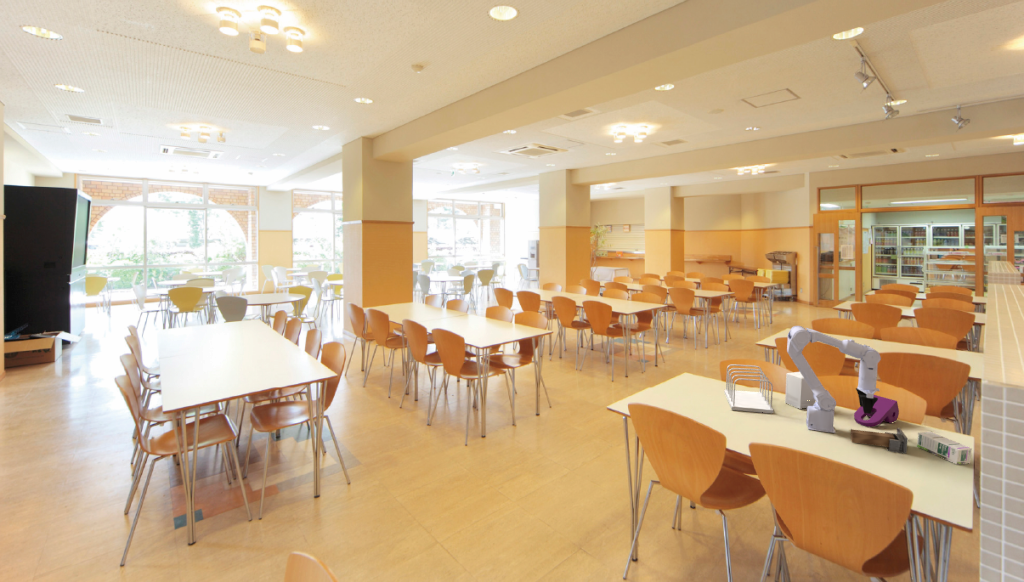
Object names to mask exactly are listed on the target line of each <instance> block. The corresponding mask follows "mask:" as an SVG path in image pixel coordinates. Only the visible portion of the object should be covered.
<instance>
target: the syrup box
mask: <svg viewBox="0 0 1024 582" xmlns="http://www.w3.org/2000/svg"><path fill="white" fill-rule="evenodd" d="M916 447H917V448H919V449H921V450H924V451H926V452H927V453H930V454H932V453H933V454H932V455H934V454H935V456H936V457H939V456H940V457H939V458H941V457H942V458H941V459H943V458H944V460H945V459H946V461H948V462H950V463H952V462H953V464H954V463H955V464H954V465H966V464H965V463H969V464H971V459H972V458H971V457H972V451H973V450H972V449H973V448H972V447H970V446H967V445H965V444H962V443H960V442H957V441H955V440H953V439H950V438H948V437H946V436H943V435H940V434H937V433H935V432H934V431H922V432H921V431H920V432H918V433H917V443H916ZM963 463H964V464H963Z"/></svg>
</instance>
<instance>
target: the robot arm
mask: <svg viewBox="0 0 1024 582" xmlns="http://www.w3.org/2000/svg"><path fill="white" fill-rule="evenodd" d="M816 342H820V343H823V344H826V345H827V346H828V345H829V346H831V347H834V348H838V351H839V352H840V353H842V354H845V355H848V356H851V357H852V358H855V359H858V360H860V361H859V370H858V371H859V372H858V385H857V387H856V388H855V391H856V392H857V396H858V401H859V407H860V406H861V407H863V411H864V413H868V414H870V413H871V411H872V408H873V406H874V404H875V403H876V401H877V400H878V398H877V397H873V396H874V395H875V393H876V392H880V390H881V389H880V388H877V379H878V369H879V368H878V366H879V365H878V364H879V363H880V361H881V359H882V357H881V354H880V352H878V351H877V350H876V349H874V348H873V347H871V346H870V345H867V344H862V343H861V344H860V343H858V342H856V341H855V340H854V339H851V338H850V339H847V338H846V339H843V340H841V339H838V338H835V337H833V336H831V335H828V334H825V333H823V332H821V331H818V330H815V329H812V328H809V327H804V326H801V325H794V326H792V327H791V328H790V330H789V331H788V333H787V343H786V345H787V346H786V347H787V348H786V352H787V354H788V355H789V357H790V358H791V360H792V362H793V364H794V365H795V367H796V368H797V369H798V372H800V373H801V374H802V376H803V377H804V379H805V381H806V382H807V384H808V385H809V387H810V388H811V390H812V392H813V397H814V399H815V403H814V406H808V407H807V408H806V420H805V422H806V427H807V429H808V430H812V431H817V432H819V431H820V432H826V433H833V434H836V430H835V426H834V421H835V408H836V407H837V401H836V399H835V398H834V397H833V396H832V395H831V393H830V392H829V390H827V389H825V387H824V386H823V384H822V382H821V381H820V379H819V378H818V376H817V374H816V373H815V372H814V370H813V368H812V366H811V365H810V364H809V362H808V361H807V359H806V358H805V356H804V354H803V350H804V348H805V347H806V346H807V345H808V344H809V343H811V344H814V343H816Z"/></svg>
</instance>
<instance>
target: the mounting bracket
mask: <svg viewBox="0 0 1024 582" xmlns="http://www.w3.org/2000/svg"><path fill="white" fill-rule="evenodd" d="M873 397H877V398H878V400H877V401H876V403H875V404H874V406H873V408H872V411H871V413H870V414H868V413H864V411H863V407H861V406H860V405H859V407H858V408H857V410H856V411H854V414H853V417H854V421H855V423H856V424H858V425H860V426H863V427H867V428H871V427H872V428H873V427H877V426H879V425H880V424H882V423H883V422H885V423H888V422H889V424H893V423H892V422H894V421H896V422H897V420H898V419H899V414H900V409H899V404H898V401H897V400H894V399H892V398H888V397H883V396H880V395H876V394H874V396H873ZM866 417H869V419H865V418H866ZM894 423H895V422H894Z"/></svg>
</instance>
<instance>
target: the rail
mask: <svg viewBox="0 0 1024 582" xmlns="http://www.w3.org/2000/svg"><path fill="white" fill-rule="evenodd" d="M889 439H894V440H895V437H894V436H893V434H887V433H885V432H879V431H878V432H877V431H869V430H862V429H861V430H860V429H854V428H853V429H852V428H851V429H850V441H851V443H852V444H855V443H856V444H862V445H869V446H877V447H885V448H886V447H889Z"/></svg>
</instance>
